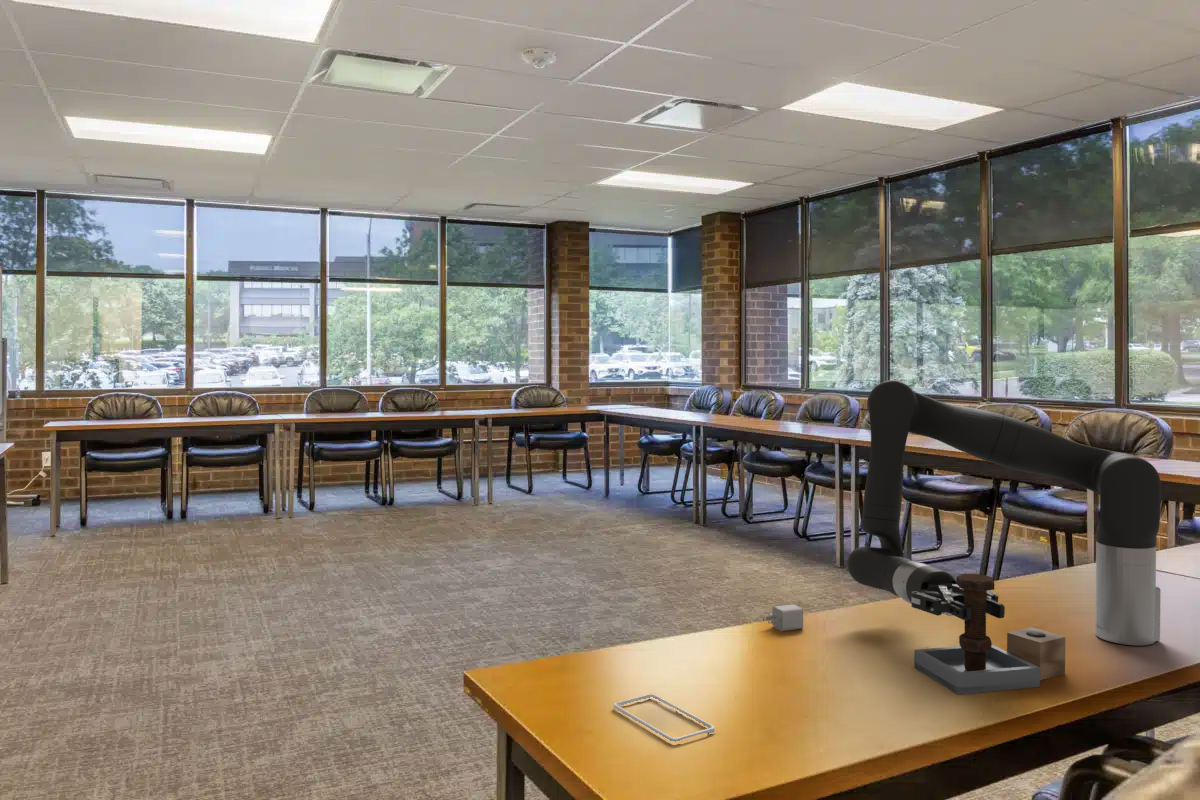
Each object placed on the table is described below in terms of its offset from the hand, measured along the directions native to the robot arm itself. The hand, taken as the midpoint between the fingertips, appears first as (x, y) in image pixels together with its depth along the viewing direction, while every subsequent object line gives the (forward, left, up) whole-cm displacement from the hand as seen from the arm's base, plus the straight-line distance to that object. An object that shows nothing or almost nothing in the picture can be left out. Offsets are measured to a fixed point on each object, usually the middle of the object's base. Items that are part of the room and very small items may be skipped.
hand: (985, 613), depth 134 cm
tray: (0, -3, -11) cm, 11 cm away
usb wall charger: (+19, -34, -11) cm, 41 cm away
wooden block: (-11, -3, -11) cm, 16 cm away
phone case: (+53, +2, -12) cm, 54 cm away
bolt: (0, -3, -10) cm, 11 cm away
